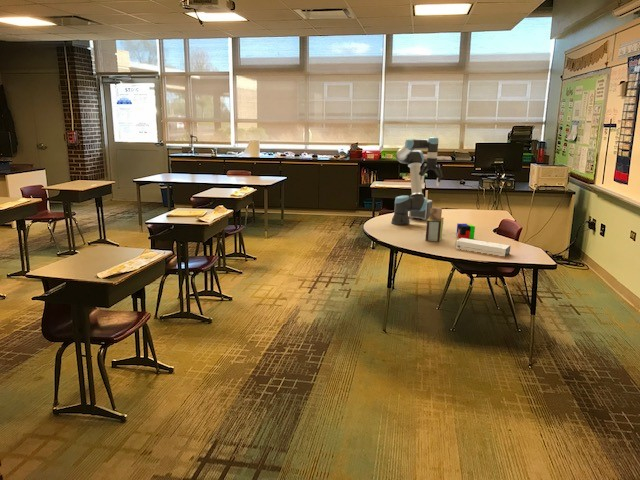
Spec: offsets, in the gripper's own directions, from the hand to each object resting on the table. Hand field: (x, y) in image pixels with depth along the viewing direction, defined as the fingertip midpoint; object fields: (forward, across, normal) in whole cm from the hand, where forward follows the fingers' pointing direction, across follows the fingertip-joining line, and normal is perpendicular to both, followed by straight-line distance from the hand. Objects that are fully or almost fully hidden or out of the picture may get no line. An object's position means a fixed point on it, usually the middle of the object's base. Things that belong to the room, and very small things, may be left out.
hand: (429, 185), depth 389 cm
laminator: (+37, +59, -24) cm, 74 cm away
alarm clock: (+37, -30, +39) cm, 62 cm away
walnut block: (+21, +18, -19) cm, 34 cm away
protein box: (+37, +18, -19) cm, 45 cm away
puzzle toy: (+37, +32, +3) cm, 49 cm away
